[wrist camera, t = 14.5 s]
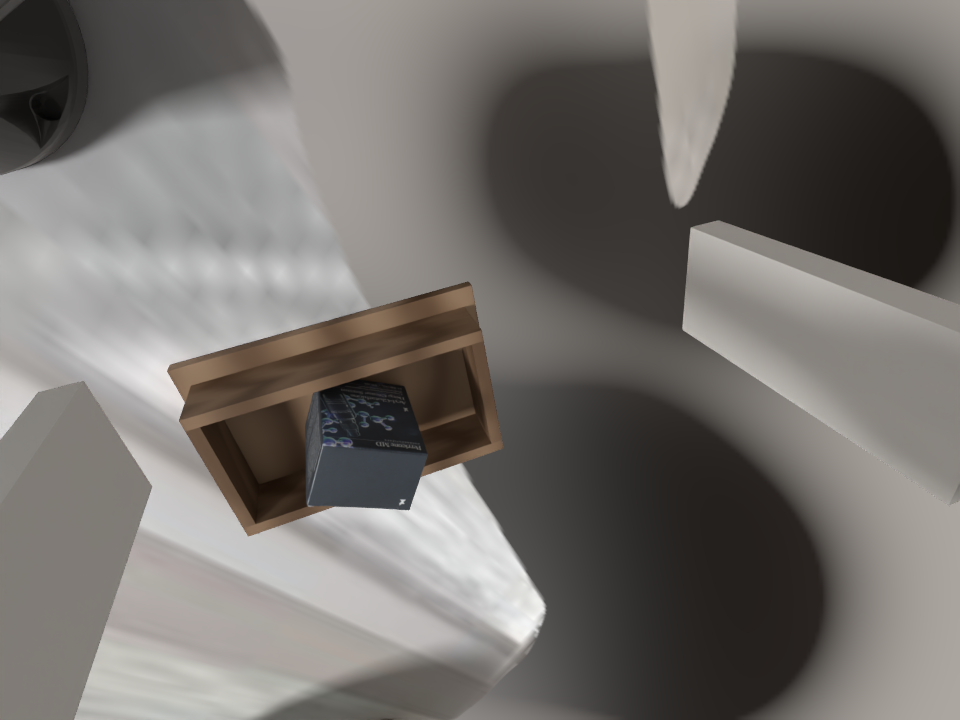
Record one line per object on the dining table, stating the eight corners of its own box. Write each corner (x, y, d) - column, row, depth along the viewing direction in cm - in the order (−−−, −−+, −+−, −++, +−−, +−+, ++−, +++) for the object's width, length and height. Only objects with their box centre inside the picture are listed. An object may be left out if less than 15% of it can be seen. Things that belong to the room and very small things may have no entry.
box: (405, 383, 47) (430, 455, 38) (389, 434, 49) (409, 513, 40) (316, 370, 44) (321, 445, 35) (303, 425, 46) (305, 509, 37)
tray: (249, 505, 49) (244, 553, 44) (169, 365, 41) (152, 405, 36) (495, 423, 53) (515, 458, 48) (468, 281, 45) (490, 307, 40)
